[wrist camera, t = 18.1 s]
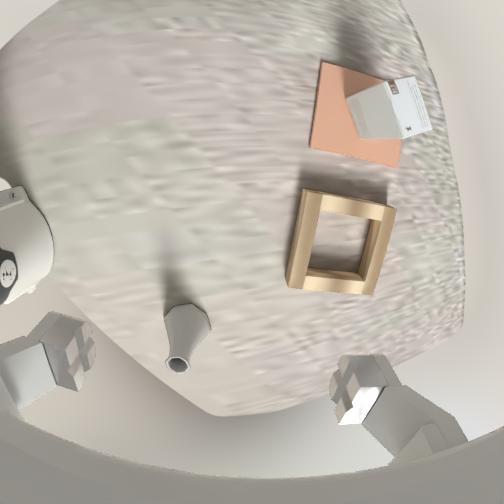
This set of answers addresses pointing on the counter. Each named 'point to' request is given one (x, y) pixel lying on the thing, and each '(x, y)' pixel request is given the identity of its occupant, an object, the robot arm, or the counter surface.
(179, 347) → the flask
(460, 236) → the counter surface
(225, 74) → the counter surface
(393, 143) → the terracotta tile
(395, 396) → the robot arm
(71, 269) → the counter surface
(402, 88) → the skincare box
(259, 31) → the counter surface
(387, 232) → the light wooden square frame
